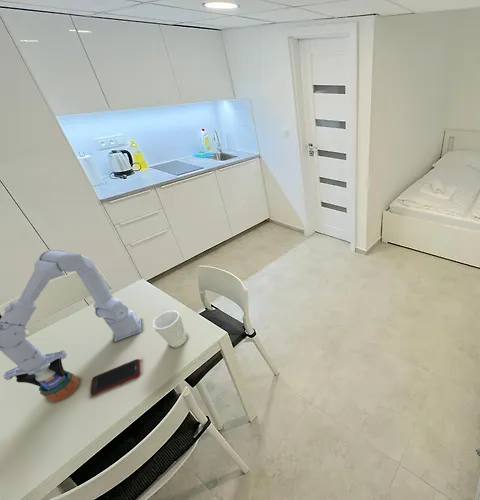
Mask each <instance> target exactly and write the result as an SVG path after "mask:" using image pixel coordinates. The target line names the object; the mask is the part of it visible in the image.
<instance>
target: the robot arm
mask: <svg viewBox="0 0 480 500" xmlns="http://www.w3.org/2000/svg"><path fill="white" fill-rule="evenodd" d="M64 272H65V273H66V272H67V273H69V272H70V273H71V272H76V274H77V275H78V277H79V279H80V280H81V282H82V283H83V285H84V286H85V288H86V290H87V291H88V293H89V294H90V296H91V298H92V299H93V301H94V303H93V308H94V314H95V316H96V317H97V318H102V320H104V322H105V323H106V325H107V326H108V327H109V329H110V330H111V331H112V333H113V334H114V340H113V341H114V342H119V341H121V340H123V339H126V338H129V337H131V336H133V335H136V334H139V333H141V332H142V321H141V319H140V318H139V316H138V315H137V313H136V311H135V310H134V309H133V310H129V308H128V306H127V305H126V304H123V302H122V301H121V300H120V299H118V298H116V297H114V296H113V293H112V292H111V291H110V289H109V287H108V285H107V284H106V282H105V280H104V279H103V277H102V275H101V273H100V272H99V270H98V268H97V267H96V265H95V263H94V261H93V259H91V258H89V257H86V256H84V255H83V254H82V253H77V252H71V251H70V252H69V251H64V250H56V249H49V250H45V251H43V252H42V253H41V254H40V255H39V257H38V259H37V260H36V261H35V263H34V269H33V272H32V274H31V276H30V278H29V279H28V281H27V283H26V285H25V287H24V289H23V290H22V293H21V295H20V297H19V298H18V299H16V300H14V301H12V302H10V303H9V305H7V306H5V307H4V309H3V311H4V313H3V315H2V316H1V317H0V352H2V354H3V355H5V356H6V357H7V358H8V359H9V360H11V362H13V363H14V364H15V365H16V366H15V367H14V368H11V369H9V370H6V371H5V372H4V373H3V376H2V377H3V379H4V380H6V381H10V380H12V379H13V378H14V377H15V378H16V380H15V381H16V382H17V383H26V384H30V385H34V386H37V387H40V386H41V384H40V383H39V382H38V381H37V380H36V379H35V376H36V375H35V374H34V373H36V372H37V371H38V369H40V368H42V367H44V366H45V365H47V364H49V370H52V371H54V372H56V373H57V374H58V375H59V376H61V377H63V376H64V375H65V371H66V370H65V368H64V367H63V362H62V361H63V360H64V359H66V358H67V355H68V353H67V352H66V351H65V350H59V351H56V352H51V353H43V352H42V351H41V350H40V349H39V348H37V346H35V345H34V344H33V343H32V341H30V340H29V339H28V338H27V337H26V336H27V335H26V334H27V333H26V326H27V324H28V323H29V321H30V319H31V318H32V316H33V315H34V313H35V311H36V310H37V306H36V304H35V302H36V301H37V299H38V298H39V297H40V295H41V294H42V292H43V291H44V290H45V288H46V287H47V285H48V284H49V283H50V281H51V280H54V279H56V278H60V277H62V276H65V275H66V274H65V273H64ZM64 370H65V371H64Z"/></svg>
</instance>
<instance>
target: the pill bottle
mask: <svg viewBox="0 0 480 500" xmlns="http://www.w3.org/2000/svg"><path fill="white" fill-rule="evenodd" d="M49 365H50V363H49V364H47V365H45V366H44V367H42V368H40V369H38V371H37V372H36V373H34V374H35V375H36V376H35V379H36V380H37V381H38V382H39V383H40V384H41V385H42V386H43V387H45V388H46V389H47V390H48V391H49V390H53V389H54V388H56V387H58V386H59V385H61V384H62V383H63V382H64V381H65V380H66V379H67V377H66V376H65V375H64V376H63V377H61V376H59V375H58V374H57V373H56V372H54V371H52V370H49Z"/></svg>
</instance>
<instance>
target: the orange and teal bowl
mask: <svg viewBox="0 0 480 500" xmlns="http://www.w3.org/2000/svg"><path fill="white" fill-rule="evenodd" d="M64 371H65V376H66V377H67V379H66V380H65V381H64V382H63V383H62V384H61V385H59V386H58V387H56V388H54V389H53V390H49V391H48V390H47V389H46V388H45V387H43V386H42V385H41V386H38V391H39V394H40V395H41V396H42V397H43V398H46V400H48V401H49V402H52V403H55V402H59V401H62V400H64V399H66V398H68V397H69V396H70V395H72V394H73V393H74V392H75V391H76V390H77V388H78V386H79V385H80V381H79V379H78V378H77V377H76V375H75V374H74V373H72V372H71V371H67V370H65V369H64Z"/></svg>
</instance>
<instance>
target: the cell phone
mask: <svg viewBox="0 0 480 500" xmlns="http://www.w3.org/2000/svg"><path fill="white" fill-rule="evenodd" d="M140 374H141V360H140V359H139V358H136V359H134V360H132V361H129V362H127V363H124V364H121V365H119V366H117V367H114V368H112V369H108V370H107V371H105V372H102V373H99V374H97V375H95V376H93V377H92V379H91V384H90V385H91V386H90V395H91V396H95V395H97V394H99V393H101V392H104V391H106V390H109V389H111V388H113V387H115V386H118V385H120V384H122V383H123V384H124V383H125V382H128V381H129V380H132V379H134V378H136V377H138V376H140Z"/></svg>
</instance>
